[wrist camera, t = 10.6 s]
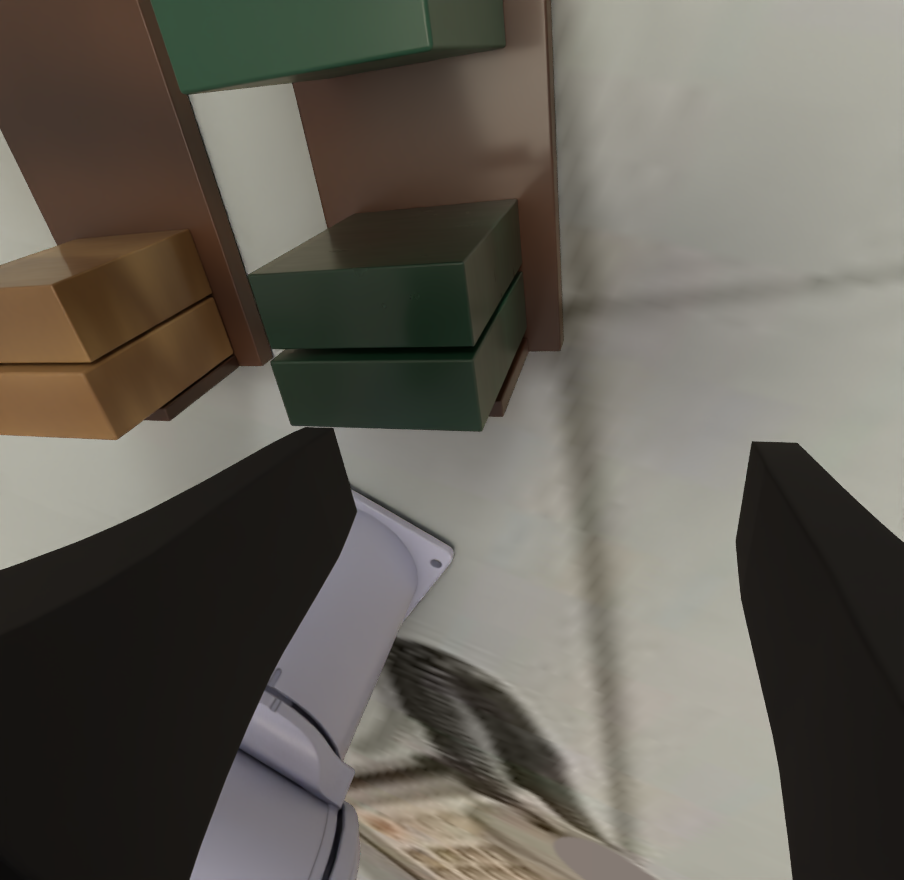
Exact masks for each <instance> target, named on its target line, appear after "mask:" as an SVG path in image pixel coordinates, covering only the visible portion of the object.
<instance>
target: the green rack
mask: <svg viewBox="0 0 904 880" xmlns="http://www.w3.org/2000/svg"><path fill="white" fill-rule="evenodd" d="M503 13H504V27H505V41H506V45H505V47H504V48H502V49H496V50H491V51H485V52H479V53H473V54H468V55H462V56H456V57H450V58H444V59H439V60H433V61H427V62H421V63H416V64H410V65H404V66H398V67H392V68H387V69H381V70H375V71H369V72H364V73H358V74H352V75H346V76H340V77H335V78H329V79H322V80H313V81H304V82H295V83H292V84H293V88H294V92H295V96H296V100H297V105H298V109H299V113H300V117H301V121H302V125H303V129H304V133H305V137H306V142H307V146H308V150H309V154H310V158H311V162H312V166H313V170H314V175H315V179H316V183H317V187H318V191H319V195H320V199H321V203H322V208H323V212H324V216H325V220H326V224H327V228H328V229H327V230H325V231H323V232H321V233H320V234H318V235H316V236H314V237H313V238H311V239H309V240H308V241H306V242H304V243H302V244H301V245H299V246H297V247H295V248H294V249H292V250H290V251H288V252H287V253H285V254H283V255H282V256H280V257H278V258H276V259H275V260H273V261H271V262H269V263H268V264H266V265H264V266H263V267H261V268H259V269H257V270H256V271H254V272H252V273H250V274H249V275H248V280H249V283H250V286H251V289H252V292H253V295H254V298H255V301H256V304H257V307H258V310H259V313H260V316H261V319H262V322H263V326H264V329H265V332H266V335H267V338H268V341H269V344H270V347H271V349H285V350H284V351H283V352H281V353H280V354H279V355H278V356H277V357H275V358H274V359H273V360H272V361H271V367H272V370H273V373H274V376H275V379H276V382H277V385H278V388H279V391H280V394H281V397H282V400H283V403H284V406H285V409H286V412H287V415H288V418H289V421H290V424H291V425H292V426H318V427H350V428H382V429H414V430H446V431H478V432H480V431H482V430H483V428H484V426H485V423H486V421H487V419H488V417H503V416H504V413H505V411H506V408H507V405H508V403H509V400H510V398H511V395H512V393H513V390H514V388H515V385H516V383H517V380H518V378H519V375H520V372H521V370H522V367H523V365H524V362H525V360H526V357H527V355H528V352H530V351H560V350H561V348H562V344H563V341H564V335H563V309H562V283H561V256H560V230H559V203H558V177H557V151H556V124H555V98H554V71H553V45H552V19H551V0H503Z"/></svg>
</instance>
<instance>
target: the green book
mask: <svg viewBox="0 0 904 880" xmlns="http://www.w3.org/2000/svg"><path fill="white" fill-rule="evenodd" d="M150 2H151V5H152V8H153V11H154V14H155V17H156V20H157V23H158V26H159V29H160V32H161V35H162V38H163V41H164V44H165V47H166V50H167V53H168V56H169V59H170V62H171V65H172V68H173V71H174V74H175V77H176V80H177V83H178V86H179V89H180V91H181V93H183V94H185V95H189V94H198V93H207V92H216V91H224V90H233V89H242V88H251V87H260V86H269V85H278V84H286V83H295V82H304V81H313V80H322V79H329V78H335V77H340V76H346V75H352V74H358V73H364V72H369V71H375V70H381V69H387V68H392V67H398V66H404V65H410V64H416V63H421V62H427V61H433V60H439V59H444V58H450V57H456V56H462V55H468V54H473V53H479V52H485V51H491V50H496V49H502V48H504V47H505V45H506V41H505V27H504V13H503V0H150Z"/></svg>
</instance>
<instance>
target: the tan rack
mask: <svg viewBox="0 0 904 880" xmlns="http://www.w3.org/2000/svg"><path fill="white" fill-rule="evenodd" d="M0 129H1V131H2V133H3V135H4V137H5V139H6V141H7V144H8V146H9V148H10V150H11V152H12V154H13V156H14V158H15V160H16V162H17V164H18V166H19V168H20V170H21V172H22V174H23V176H24V178H25V180H26V182H27V184H28V187H29V189H30V191H31V193H32V195H33V197H34V199H35V201H36V203H37V205H38V207H39V209H40V211H41V213H42V215H43V217H44V219H45V221H46V223H47V225H48V227H49V229H50V232H51V234H52V236H53V238H54V240H55V242H56V244H57V246H55V247H52V248H49V249H46V250H43V251H40V252H37V253H34V254H31V255H28V256H26V257H23V258H20V259H17V260H14V261H11V262H8V263H5V264H2V265H0V435H14V436H37V437H59V438H82V439H104V440H117V439H119V438H120V437H122V436H123V435H124V434H126V433H127V432H128V431H130V430H131V429H133V428H134V427H135V426H137V425H138V424H139V423H141V422H142V421H143V420H152V421H171V420H172V419H173V418H175V417H176V416H177V415H178V414H180V413H181V412H182V411H183V410H185V409H186V408H187V407H188V406H190V405H191V404H192V403H194V402H195V401H196V400H197V399H199V398H200V397H201V396H202V395H204V394H205V393H206V392H208V391H209V390H210V389H211V388H213V387H214V386H215V385H216V384H218V383H219V382H220V381H221V380H223V379H224V378H225V377H227V376H228V375H229V374H230V373H232V372H233V371H234V370H235V369H237V368H238V367H239V366H263V365H264V364H266V363H267V362H268V361H269V360H270V359H272V358H273V355H272V352H271V349H270V346H269V343H268V340H267V337H266V334H265V331H264V328H263V325H262V322H261V319H260V315H259V312H258V309H257V306H256V303H255V300H254V297H253V294H252V291H251V288H250V285H249V282H248V279H247V276H246V273H245V270H244V267H243V264H242V261H241V258H240V254H239V251H238V248H237V245H236V242H235V239H234V236H233V233H232V230H231V227H230V224H229V221H228V218H227V215H226V212H225V209H224V206H223V203H222V200H221V197H220V193H219V190H218V187H217V184H216V181H215V178H214V175H213V172H212V169H211V166H210V163H209V160H208V157H207V154H206V151H205V148H204V145H203V142H202V139H201V136H200V132H199V129H198V126H197V123H196V120H195V117H194V114H193V111H192V108H191V105H190V102H189V99H188V96H187V95H185V94H183V93H181V91H180V89H179V86H178V83H177V80H176V77H175V74H174V71H173V68H172V65H171V62H170V59H169V56H168V53H167V50H166V47H165V44H164V41H163V38H162V35H161V32H160V29H159V26H158V23H157V20H156V17H155V14H154V11H153V8H152V5H151V2H150V0H0Z"/></svg>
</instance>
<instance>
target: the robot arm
mask: <svg viewBox="0 0 904 880" xmlns="http://www.w3.org/2000/svg"><path fill="white" fill-rule="evenodd" d="M736 552H737V563H738V574H739V584H740V593H741V601H742V605H743V610H744V614H745V619H746V623H747V627H748V632H749V636H750V640H751V645H752V649H753V653H754V658H755V662H756V666H757V670H758V675H759V679H760V683H761V687H762V692H763V696H764V700H765V705H766V709H767V713H768V717H769V722H770V726H771V730H772V734H773V739H774V745H775V750H776V755H777V761H778V766H779V773H780V780H781V788H782V796H783V804H784V811H785V819H786V827H787V835H788V843H789V851H790V860H791V869H792V877H793V880H904V542H903V541H901V540H900V539H899V538H898V537H897V536H895V535H894V534H893V533H892V532H891V531H890V530H889V529H888V528H886V527H885V526H884V525H883V524H882V523H881V522H880V521H879V520H877V519H876V518H875V517H874V516H873V515H872V514H871V513H870V512H869V511H868V510H866V509H865V508H864V507H863V506H862V505H861V504H860V503H859V502H858V501H857V500H856V499H855V498H854V497H852V496H851V495H850V494H849V493H848V492H847V491H846V490H845V489H844V488H843V487H842V486H841V485H840V484H839V483H838V482H837V481H836V480H835V479H834V478H833V477H832V476H831V475H830V474H829V473H828V472H827V471H826V470H825V469H824V468H823V467H821V466H820V465H819V464H818V463H817V462H816V461H815V460H814V459H813V458H812V457H811V456H810V455H809V454H808V453H807V452H806V451H805V450H804V449H803V448H802V447H801V446H800V445H799V444H798V443H785V442H754V441H752V444H751V450H750V456H749V462H748V469H747V475H746V481H745V487H744V493H743V499H742V505H741V512H740V518H739V524H738V530H737V536H736ZM453 557H454V551H453V549H452V548H451V547H450V546H448V545H447V544H445V543H443V542H442V541H440V540H438V539H436V538H435V537H433V536H431V535H430V534H428V533H426V532H424V531H423V530H421V529H419V528H418V527H416V526H414V525H412V524H411V523H409V522H407V521H405V520H404V519H402V518H400V517H399V516H397V515H395V514H393V513H392V512H390V511H388V510H387V509H385V508H383V507H381V506H380V505H378V504H376V503H374V502H373V501H371V500H369V499H368V498H366V497H364V496H362V495H361V494H359V493H357V492H356V491H354V490H352V489H351V488H350V484H349V481H348V477H347V474H346V470H345V467H344V463H343V460H342V456H341V453H340V449H339V446H338V443H337V439H336V436H335V432H334V429H333V428H314V427H305V428H302V429H300V430H298V431H295V432H293V433H291V434H289V435H287V436H285V437H283V438H281V439H279V440H277V441H275V442H273V443H272V444H270V445H268V446H266V447H264V448H262V449H261V450H259V451H257V452H255V453H253V454H252V455H250V456H248V457H246V458H245V459H243V460H241V461H239V462H237V463H236V464H234V465H232V466H230V467H228V468H227V469H225V470H223V471H221V472H220V473H218V474H216V475H214V476H212V477H211V478H209V479H207V480H205V481H203V482H201V483H200V484H198V485H196V486H194V487H192V488H190V489H188V490H186V491H184V492H182V493H180V494H179V495H177V496H175V497H173V498H171V499H169V500H167V501H165V502H163V503H161V504H159V505H157V506H156V507H154V508H152V509H150V510H148V511H146V512H144V513H141V514H139V515H137V516H135V517H133V518H131V519H129V520H127V521H124V522H122V523H120V524H118V525H116V526H113V527H111V528H109V529H106V530H104V531H102V532H99V533H97V534H95V535H93V536H90V537H88V538H85V539H83V540H81V541H78V542H76V543H73V544H70V545H68V546H65V547H62V548H60V549H57V550H54V551H52V552H49V553H46V554H44V555H41V556H38V557H36V558H33V559H30V560H28V561H25V562H22V563H20V564H17V565H14V566H11V567H8V568H5V569H3V570H0V880H356V878H357V873H358V868H359V861H360V839H359V824H358V816H357V813H356V811H355V808H354V807H353V806H352V805H350V804H349V803H347V802H346V801H344V799H345V796H346V794H347V791H348V789H349V786H350V784H351V781H352V779H353V776H354V774H355V770H354V769H353V768H352V767H350V766H349V765H347V764H346V763H345V762H343V760H344V757H345V755H346V753H347V750H348V748H349V746H350V743H351V741H352V739H353V736H354V734H355V732H356V729H357V727H358V725H359V722H360V720H361V718H362V715H363V713H364V711H365V708H366V706H367V704H368V701H369V699H370V697H371V694H372V692H373V689H374V687H375V685H376V682H377V680H378V678H379V675H380V673H381V671H382V668H383V666H384V664H385V661H386V659H387V657H388V654H389V652H390V650H391V647H392V645H393V643H394V640H395V638H396V636H397V633H398V631H399V629H400V626H401V624H402V623H403V622H404V621H405V619H406V618H407V617H408V616H409V614H410V613H411V612H412V611H413V609H414V608H415V607H416V606H417V604H418V603H419V602H420V601H421V599H422V598H423V597H424V596H425V594H426V593H427V592H428V591H429V589H430V588H431V587H432V586H433V584H434V583H435V582H436V581H437V580H438V578H439V577H440V576H441V575H442V573H443V572H444V571H445V570H446V568H447V567H448V566H449V565H450V563H451V562H452V559H453ZM435 559H436V560H439V561H440V562H439V561H436V560H435Z"/></svg>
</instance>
